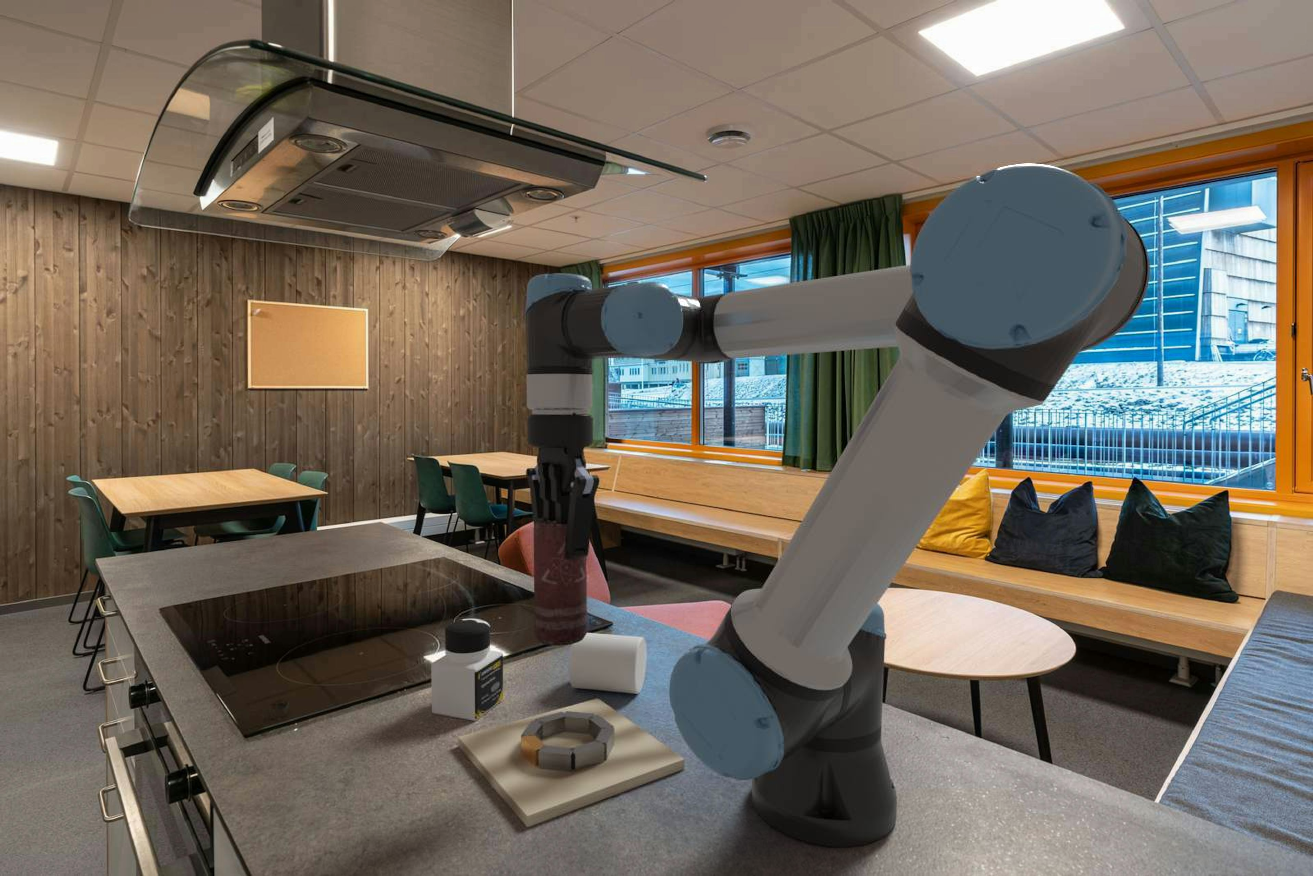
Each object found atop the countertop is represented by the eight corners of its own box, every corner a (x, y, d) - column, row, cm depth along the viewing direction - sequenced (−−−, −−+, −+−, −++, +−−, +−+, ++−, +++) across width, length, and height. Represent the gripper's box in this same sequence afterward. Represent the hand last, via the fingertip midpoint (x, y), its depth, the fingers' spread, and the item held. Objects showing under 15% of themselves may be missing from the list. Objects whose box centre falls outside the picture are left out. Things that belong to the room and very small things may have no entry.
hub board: (684, 768, 84) (684, 759, 84) (527, 827, 72) (527, 816, 72) (597, 706, 100) (597, 698, 100) (458, 746, 89) (458, 736, 88)
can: (598, 633, 85) (597, 516, 84) (566, 649, 80) (566, 525, 79) (556, 625, 88) (555, 512, 87) (523, 641, 82) (522, 520, 82)
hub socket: (628, 753, 85) (628, 737, 85) (548, 780, 79) (548, 763, 79) (584, 719, 93) (584, 705, 93) (509, 741, 87) (509, 726, 87)
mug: (634, 703, 102) (635, 648, 101) (567, 696, 104) (567, 642, 103) (652, 671, 113) (652, 621, 113) (591, 665, 115) (591, 617, 115)
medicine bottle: (475, 722, 95) (475, 633, 94) (430, 714, 97) (429, 627, 97) (504, 700, 102) (503, 617, 101) (461, 693, 104) (460, 612, 103)
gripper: (620, 412, 79) (621, 622, 81) (559, 411, 90) (560, 595, 91) (561, 413, 75) (563, 635, 76) (504, 411, 85) (506, 606, 87)
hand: (561, 613), depth 84 cm, fingers closed
